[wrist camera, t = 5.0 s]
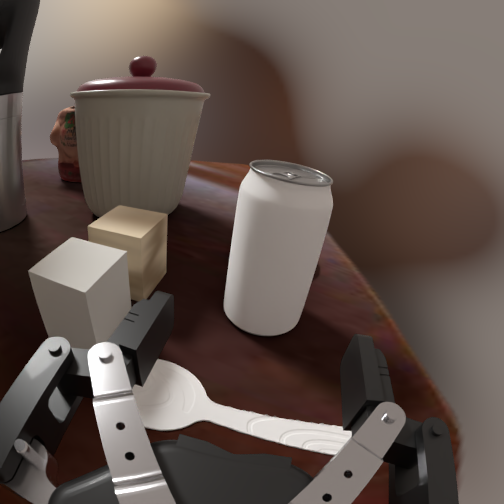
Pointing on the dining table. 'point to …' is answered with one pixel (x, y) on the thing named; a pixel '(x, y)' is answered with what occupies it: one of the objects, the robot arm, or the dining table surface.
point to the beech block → (135, 244)
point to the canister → (136, 138)
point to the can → (275, 245)
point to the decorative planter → (66, 145)
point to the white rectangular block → (82, 291)
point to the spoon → (223, 413)
